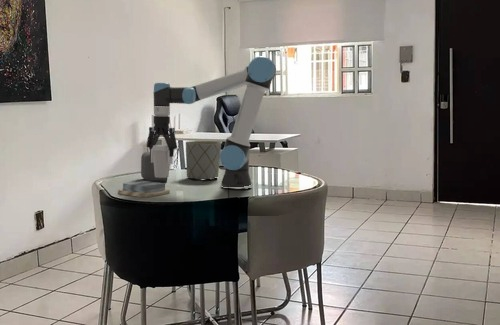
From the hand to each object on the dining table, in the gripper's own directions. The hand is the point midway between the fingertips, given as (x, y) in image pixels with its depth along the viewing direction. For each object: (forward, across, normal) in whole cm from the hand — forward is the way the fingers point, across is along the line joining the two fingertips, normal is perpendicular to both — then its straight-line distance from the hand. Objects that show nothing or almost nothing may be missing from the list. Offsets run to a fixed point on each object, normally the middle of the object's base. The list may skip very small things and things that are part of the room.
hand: (161, 163), depth 270 cm
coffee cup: (+7, 0, 0) cm, 7 cm away
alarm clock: (+12, -20, +17) cm, 28 cm away
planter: (+12, -6, +41) cm, 43 cm away
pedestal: (+12, +5, -18) cm, 22 cm away
